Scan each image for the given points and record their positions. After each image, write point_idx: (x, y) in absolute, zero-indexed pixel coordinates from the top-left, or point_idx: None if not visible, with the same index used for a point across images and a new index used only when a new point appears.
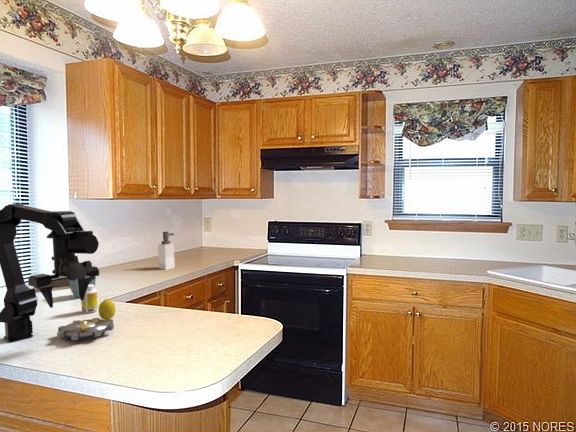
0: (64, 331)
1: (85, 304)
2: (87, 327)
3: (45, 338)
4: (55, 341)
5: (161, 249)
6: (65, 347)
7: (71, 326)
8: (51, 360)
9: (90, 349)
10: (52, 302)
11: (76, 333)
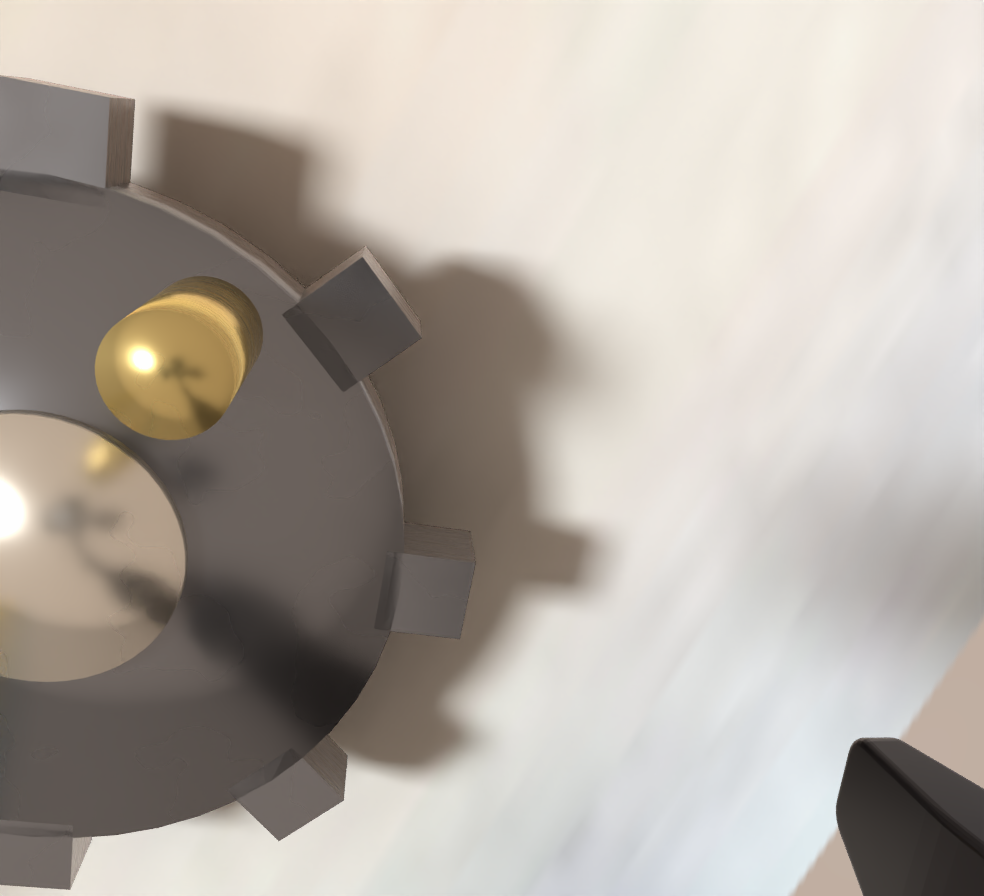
0: (379, 589)
1: None
2: (78, 425)
3: (457, 790)
4: None
5: None
6: (512, 297)
7: (199, 706)
8: (878, 9)
9: None
10: (976, 827)
11: (329, 341)
